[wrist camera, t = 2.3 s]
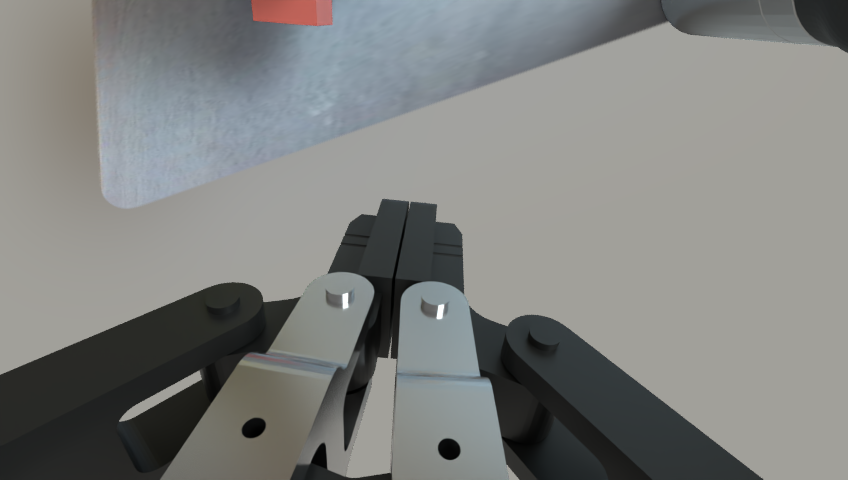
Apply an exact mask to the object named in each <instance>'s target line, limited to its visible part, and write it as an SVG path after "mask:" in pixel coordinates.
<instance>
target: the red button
mask: <svg viewBox="0 0 848 480" xmlns="http://www.w3.org/2000/svg"><path fill="white" fill-rule="evenodd" d="M251 3H252V12H253V21H263V22H276V23H284V24H295V25H313V26H321V25H333V24H332V0H251Z"/></svg>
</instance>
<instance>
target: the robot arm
mask: <svg viewBox="0 0 848 480" xmlns="http://www.w3.org/2000/svg"><path fill="white" fill-rule="evenodd" d="M661 3H662V8H663V11H664V14H665V16H666V18H667V20H668V21H669V22H670V23H671V24H672V26H674V27H675V28H676V29H678V30H679V31H681V32H684V33H687V34H690V35H701V36H713V37H722V38H734V39H746V40H758V41H770V42H782V43H794V44H809V45H821V46H822V45H823V46H833V47H839V48H840V49H842V50H843V51H845V52H847V53H848V0H661ZM436 208H437V205H436V204H427V203H418V202H411V204H410V209H409V202H408V201H398V200H389V199H382V202H381V205H380V208H379V210H378V214H377V216H373V215H364V214H362V215H360V216H359V217H357V218H356V219H355V220H353V221H352V222H350V224H349V226H348V228H347V231H346V233H345V236H344V237H343V240H342V242H341V245H340V247H339V249H338V251H337V253H336V256H335V258H334V260H333V263H332V265H331V267H330V269H329V272H328V274H326V275H323V276H321V277H318V278H317V279H315V280H314V281H313V282H311V283H310V284H309V286H308V287H307V288H306V290H305V292H304V293H303V295H302V296H301V297H298V298H294V299H288V300H281V301H272V302H263V297H262V295H261V292H260V291H259V290H258V289H256V288H255V287H253V286H251V285H248V284H245V283H234V282H232V283H223V284H218V285H214V286H211V287H209V288H206V289H203V290H201V291H199V292H197V293H194V294H192V295H189V296H187V297H184V298H182V299H180V300H177V301H175V302H173V303H171V304H168V305H166V306H163V307H161V308H158V309H156V310H153V311H151V312H149V313H146V314H144V315H142V316H140V317H137V318H135V319H132V320H130V321H127V322H125V323H123V324H120V325H118V326H115V327H113V328H111V329H108V330H106V331H104V332H101V333H99V334H96V335H94V336H92V337H89V338H87V339H84V340H82V341H80V342H77V343H75V344H73V345H70V346H68V347H65V348H63V349H61V350H58V351H56V352H54V353H51V354H49V355H46V356H44V357H42V358H39V359H37V360H34V361H32V362H30V363H27V364H25V365H23V366H20V367H18V368H16V369H13V370H11V371H9V372H6V373H4V374H1V375H0V480H509V476H508V472H507V466H506V464H507V465H508V466H509V468H510V469H511V470H512V471H513V472H514V474H515V475H516V476H517V477H518V478H519V480H763V479H762V478H761V477H759V476H758V475H757V474H755V473H754V472H753V471H752V470H750V469H749V468H748V467H747V466H745V465H744V464H743V463H741V462H740V461H739V460H737V459H736V458H735V457H734V456H732V455H731V454H730V453H728V452H727V451H726V450H725V449H723V448H722V447H721V446H719V445H718V444H717V443H716V442H714V441H713V440H712V439H710V438H709V437H708V436H706V435H705V434H704V433H703V432H701V431H700V430H699V429H698V428H696V427H695V426H694V425H692V424H691V423H690V422H688V421H687V420H686V419H684V418H683V417H682V416H681V415H679V414H678V413H677V412H676V411H674V410H673V409H671V408H670V407H669V406H668V405H667V404H665V403H664V402H663V401H661V400H660V399H658V397H656V396H655V395H654V394H652V393H651V392H650V391H648V390H647V389H646V388H645V387H643V386H642V385H641V384H639V383H638V382H637V381H635V380H634V379H633V378H632V377H630V376H629V375H628V374H626V373H625V372H624V371H623V370H621V369H620V368H619V367H617V366H616V365H615V364H614V363H612V362H611V361H610V360H608V359H607V358H606V357H605V356H603V355H602V354H601V353H599V352H598V351H597V350H595V349H594V348H593V347H592V346H590V345H589V344H588V343H587V342H585V341H584V340H583V339H581V338H580V337H579V336H578V335H576V334H575V333H574V332H572V331H571V330H570V329H568V328H567V327H566V326H564V325H563V324H561V323H560V322H558V321H556V320H553V319H551V318H548V317H544V316H539V315H525V316H520V317H518V318H516V319H514V320H512V322H510V324H509V325H508V326H505V325H502V324H499V323H496V322H493V321H491V320H488V319H486V318H484V317H482V316H481V315H479V314H478V313H476V312H475V311H474V310H473V309H472V308H470V306H469V304H468V301H467V299H466V297H465V296H464V279H463V248H462V234H461V232H460V231H459V230H458V228H457V227H456V226H455V224H451V223H441V222H436ZM391 337H392V346H391V358H393V359H397V364H396V377H395V391H394V410H393V426H392V445H391V463H390V473H387V474H381V475H374V476H368V477H361V478H348V477H346V473H347V468H348V464H349V460H350V456H351V453H352V449H353V446H354V443H355V439H356V436H357V433H358V430H359V426H360V423H361V420H362V416H363V413H364V409H365V406H366V402H367V399H368V396H369V393H370V389H371V385H372V376H373V374H374V371H375V367H376V362H377V357H382V358H388V354H389V348H390V343H391ZM199 370H200V374H201V377H202V380H200V381H198V382H197V383H195V384H193V385H191V386H190V387H188V388H186V389H184V390H182V391H181V392H179V393H177V394H176V395H173V396H172V397H170V398H168V399H166V400H165V401H163V402H161V403H159V404H157V405H156V406H154V407H152V408H150V409H148V410H147V411H145V412H143V413H141V414H140V415H138V416H136V417H134V418H132V419H130V420H127V421H122V422H119V420H120V418H121V417H122V416H123V415H124V414H125V413H126V412H127V410H129V409H130V408H132V407H133V406H135V405H136V404H138V403H140V402H142V401H144V400H145V399H147V398H149V397H151V396H153V395H155V394H156V393H158V392H160V391H162V390H164V389H166V388H167V387H169V386H171V385H173V384H175V383H177V382H178V381H180V380H182V379H184V378H186V377H188V376H189V375H191V374H193V373H195V372H197V371H199Z"/></svg>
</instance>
